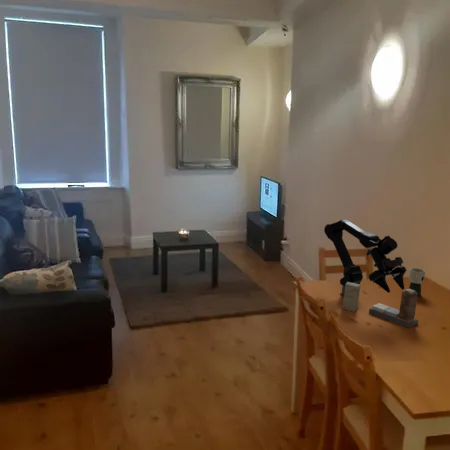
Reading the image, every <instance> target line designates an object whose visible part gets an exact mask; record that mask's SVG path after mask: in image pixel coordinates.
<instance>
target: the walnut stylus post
mask: <svg viewBox="0 0 450 450" xmlns="http://www.w3.org/2000/svg"><path fill="white" fill-rule="evenodd" d="M418 296H419V295H418V293H416V291H414V290H412V289H409V288H407V289H406V288H405V289H404V290H403V291H401V298H400V306H399V310H400V311H399V318H401V319H403V320H405V321H410V320H414V318H415V316H416V309H417V301H418Z"/></svg>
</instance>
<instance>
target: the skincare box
mask: <svg viewBox="0 0 450 450" xmlns="http://www.w3.org/2000/svg"><path fill="white" fill-rule="evenodd" d="M360 292H361V283H360V284H356V283H351V282H347V283H346V284H345V291H344V297H343V300H342V306H341V307H342V308H341V309H342V310H346V311H349V312H354V313H356V312H357V310H358V308H359V307H358V305H359V300H360V299H359V298H360Z"/></svg>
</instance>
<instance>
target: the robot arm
mask: <svg viewBox="0 0 450 450" xmlns="http://www.w3.org/2000/svg"><path fill="white" fill-rule="evenodd" d="M323 231H324V234H325V235H326V237H327V239H329V240H330V241H331V242H332V244H333V246H334V248H335V250H336V253H337V255H338V257H339V260H340V262H341V264H342V267H343V272H342V273H343V277H342V278H340V279H339V285H341V286H342V287H341V292H340V295H341V297H343V298H344V291H345V284H346V283H347V282H351V283H356V284H361V282H362V281H363V278H364V276H363V273H364V272H363V271H362V270H361V267H360V265H355V263H354V262H353V260H352V257H351V255H350V253H349V251H348V248H347V246H346V243H345V241H344V239H343V235H344V232H343V231H345V232H347V233H348V234H350V235H351V236H353V237H354V238H356V239H358V241H359V243H360V245H361V246H362V247H363V248H366V249H367V252H366V256H371V259H372V261H373V262H374V264H373V266H374V268H377V270H374V271H373V272H371V273H370V274H369V275H368V279H369V281H370V282H372V283H373V284H374V283H375V284H376V285H377V286H379V287H380V288H382V289H383V290H384V291H385V292H387V293H391V290H390V287H389V285H388V283H387V280H386V278H387V276H391V277H393V278H392V279H393V280H394V282H395V283H396V285H398V287H399V288H400V289H401V290H403V291H404V290H405V283H404V276H405V274H406V272H407V271H408V270H407V268H406V267H405V266H403V264H404V260H403V259H402V257H401V256H396V257H395V258H394V259H391V258H390V257H387V256H386V255H389V254H390V253H392V252H393V251H395V250H396V249H398V243H397V241H396V240H395V239H394V238H393V237H391V236H390V235H385V236H384V237H383V238H380V236H379V235H377V234H375V233H373V232H368V231H365V230H363V229H362V228H360V227H359V226H357V225H355V224H354V223H352V222H351V221H350V220H348V219H340V220H338V221H336V222H333V223H328V224H326V225H324V230H323ZM370 248H371V249H370Z"/></svg>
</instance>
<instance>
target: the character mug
mask: <svg viewBox="0 0 450 450" xmlns="http://www.w3.org/2000/svg"><path fill="white" fill-rule="evenodd" d="M408 275H409V276H408V282H410V283H409V287H408V289H412V290H414V291H416V293H418V296H421V295H422V284H423V283H424V281H425V276H426V270H425V269H423V268H419V267H411V268H410V269H409V274H408Z"/></svg>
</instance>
